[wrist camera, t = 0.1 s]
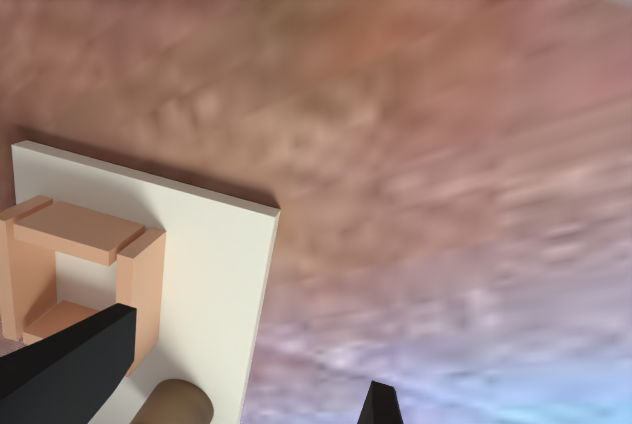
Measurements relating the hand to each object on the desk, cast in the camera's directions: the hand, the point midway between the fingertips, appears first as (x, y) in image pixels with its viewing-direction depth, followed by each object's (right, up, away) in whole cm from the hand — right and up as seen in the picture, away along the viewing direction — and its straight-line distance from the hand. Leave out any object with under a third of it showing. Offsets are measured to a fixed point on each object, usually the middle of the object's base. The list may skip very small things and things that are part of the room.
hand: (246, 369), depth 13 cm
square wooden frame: (-10, +2, +12) cm, 16 cm away
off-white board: (-9, -2, +14) cm, 16 cm away
